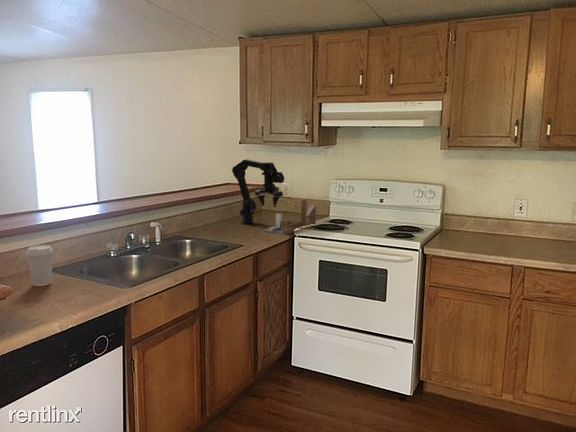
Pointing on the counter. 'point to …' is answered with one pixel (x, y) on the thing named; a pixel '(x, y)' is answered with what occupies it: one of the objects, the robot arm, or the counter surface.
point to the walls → (290, 225)
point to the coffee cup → (40, 263)
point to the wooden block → (307, 213)
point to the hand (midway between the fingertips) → (268, 206)
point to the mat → (278, 231)
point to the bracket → (277, 223)
